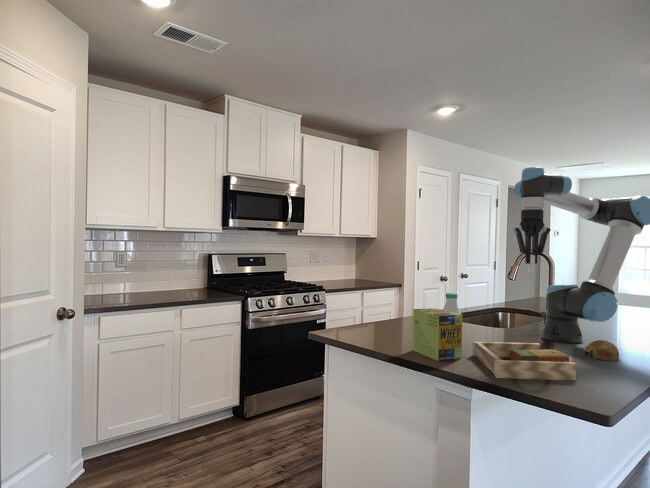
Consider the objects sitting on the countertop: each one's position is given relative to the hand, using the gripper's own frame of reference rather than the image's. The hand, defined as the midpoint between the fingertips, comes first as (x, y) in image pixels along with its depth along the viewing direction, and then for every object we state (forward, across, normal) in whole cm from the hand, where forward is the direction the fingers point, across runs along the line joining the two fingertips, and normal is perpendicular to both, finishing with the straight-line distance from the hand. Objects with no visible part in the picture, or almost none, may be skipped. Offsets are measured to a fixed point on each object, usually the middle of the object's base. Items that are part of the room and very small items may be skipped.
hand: (531, 272), depth 160 cm
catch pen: (+29, +12, +21) cm, 38 cm away
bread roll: (+30, -23, +6) cm, 38 cm away
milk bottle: (+30, +27, -9) cm, 41 cm away
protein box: (+30, +36, +8) cm, 47 cm away
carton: (+30, +4, +16) cm, 34 cm away
